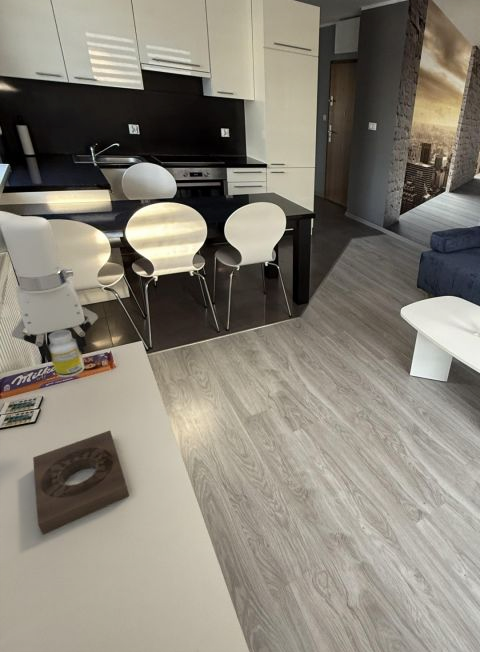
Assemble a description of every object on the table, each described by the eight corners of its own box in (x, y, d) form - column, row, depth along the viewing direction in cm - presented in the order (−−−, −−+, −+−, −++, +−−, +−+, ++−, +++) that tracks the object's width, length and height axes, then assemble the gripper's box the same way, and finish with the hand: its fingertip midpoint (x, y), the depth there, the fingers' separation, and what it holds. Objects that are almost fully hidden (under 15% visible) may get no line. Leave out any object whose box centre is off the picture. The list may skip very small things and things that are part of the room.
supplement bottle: (64, 363, 92) (53, 327, 88) (89, 363, 93) (79, 327, 89) (51, 378, 87) (38, 340, 83) (77, 378, 88) (67, 340, 84)
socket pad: (37, 467, 84) (33, 457, 82) (112, 439, 92) (110, 430, 90) (42, 534, 71) (37, 524, 70) (129, 496, 80) (126, 485, 78)
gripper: (89, 265, 87) (106, 335, 96) (-14, 280, 77) (15, 357, 85) (95, 277, 82) (113, 350, 91) (-14, 295, 72) (16, 375, 80)
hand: (65, 353), depth 88 cm, fingers closed on supplement bottle, 5 cm apart
